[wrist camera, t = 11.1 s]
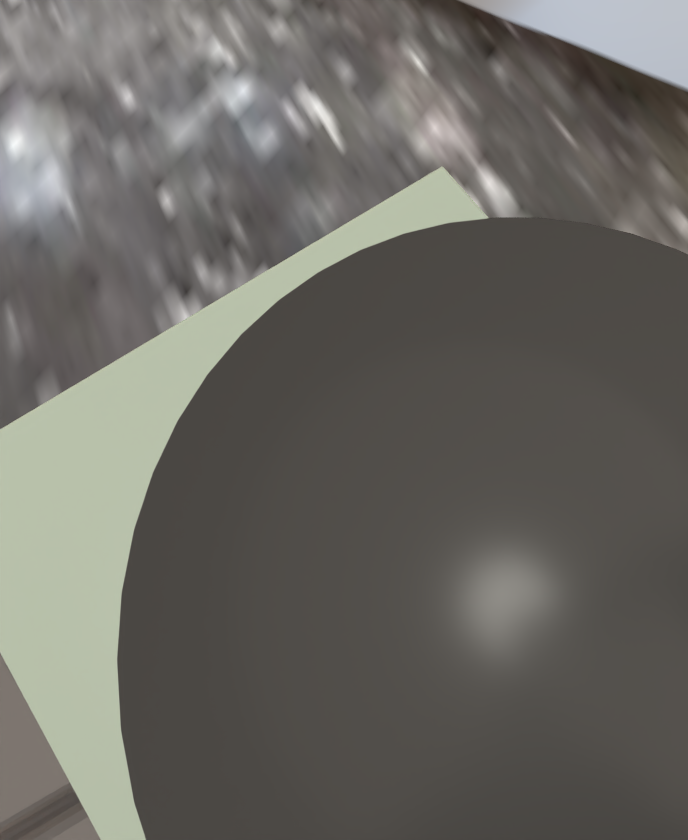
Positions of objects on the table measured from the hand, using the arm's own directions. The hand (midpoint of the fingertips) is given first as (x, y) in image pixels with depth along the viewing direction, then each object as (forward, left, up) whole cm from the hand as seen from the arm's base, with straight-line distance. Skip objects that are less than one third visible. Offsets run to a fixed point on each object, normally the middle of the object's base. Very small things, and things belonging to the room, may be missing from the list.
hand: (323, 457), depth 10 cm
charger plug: (-2, +1, -5) cm, 6 cm away
